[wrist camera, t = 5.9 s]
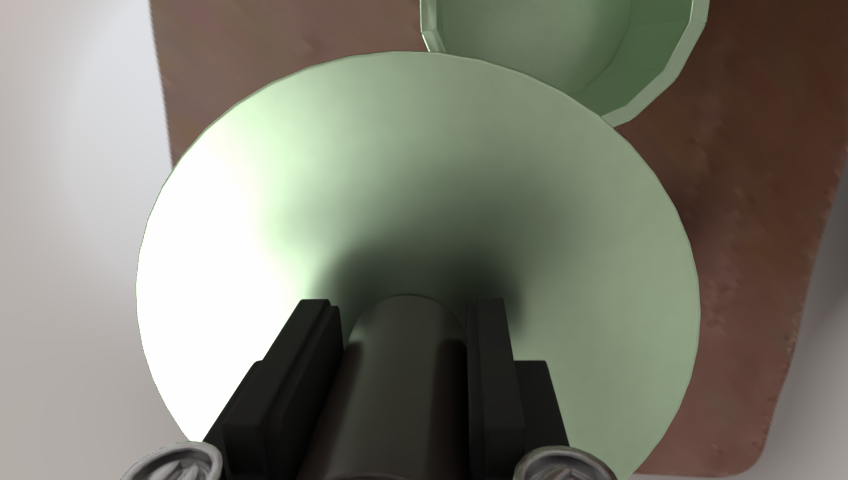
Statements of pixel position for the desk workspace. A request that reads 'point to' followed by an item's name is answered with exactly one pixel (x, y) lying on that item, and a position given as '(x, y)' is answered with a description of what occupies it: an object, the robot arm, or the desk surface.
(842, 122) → the desk surface
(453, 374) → the lid
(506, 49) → the tin
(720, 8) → the desk surface
